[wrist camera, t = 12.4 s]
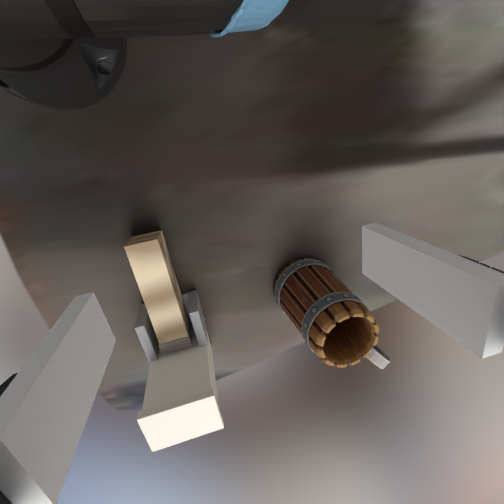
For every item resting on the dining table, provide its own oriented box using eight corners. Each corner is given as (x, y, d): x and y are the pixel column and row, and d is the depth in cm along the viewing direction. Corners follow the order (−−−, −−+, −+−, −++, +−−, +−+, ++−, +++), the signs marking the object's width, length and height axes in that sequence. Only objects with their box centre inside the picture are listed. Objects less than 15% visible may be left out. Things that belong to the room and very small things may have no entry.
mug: (259, 292, 45) (291, 355, 31) (301, 243, 44) (353, 287, 30) (320, 332, 51) (369, 400, 37) (358, 290, 50) (424, 345, 36)
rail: (131, 236, 37) (122, 247, 32) (162, 229, 38) (158, 239, 33) (164, 332, 43) (161, 354, 38) (191, 325, 43) (191, 345, 38)
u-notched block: (140, 304, 41) (118, 382, 27) (197, 289, 42) (202, 357, 29) (162, 360, 45) (152, 451, 32) (213, 345, 47) (224, 427, 33)
